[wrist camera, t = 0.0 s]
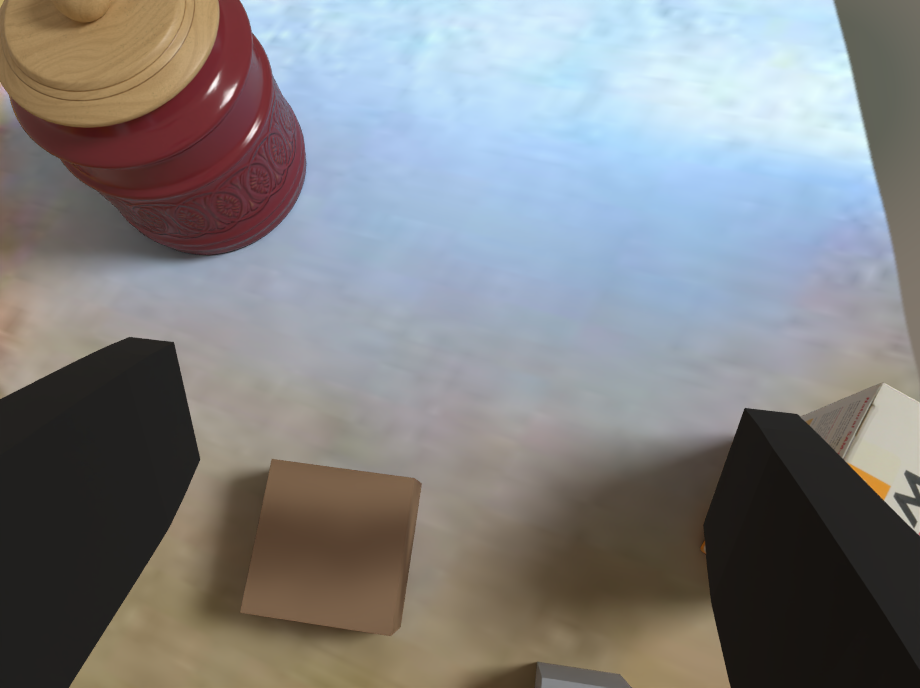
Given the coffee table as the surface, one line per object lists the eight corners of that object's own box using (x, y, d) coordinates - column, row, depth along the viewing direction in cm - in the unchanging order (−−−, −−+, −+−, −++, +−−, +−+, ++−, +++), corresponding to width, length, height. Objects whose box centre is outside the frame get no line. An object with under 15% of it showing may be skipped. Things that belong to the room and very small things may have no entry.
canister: (300, 76, 49) (195, -170, 32) (322, 240, 45) (217, 61, 28) (121, 110, 49) (-79, -118, 32) (129, 276, 45) (-91, 120, 28)
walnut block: (401, 626, 39) (390, 636, 35) (264, 605, 39) (240, 612, 36) (422, 483, 41) (414, 478, 37) (292, 466, 42) (271, 458, 38)
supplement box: (774, 599, 38) (912, 629, 25) (695, 549, 39) (791, 554, 26) (839, 472, 40) (998, 441, 27) (762, 427, 40) (882, 377, 28)
